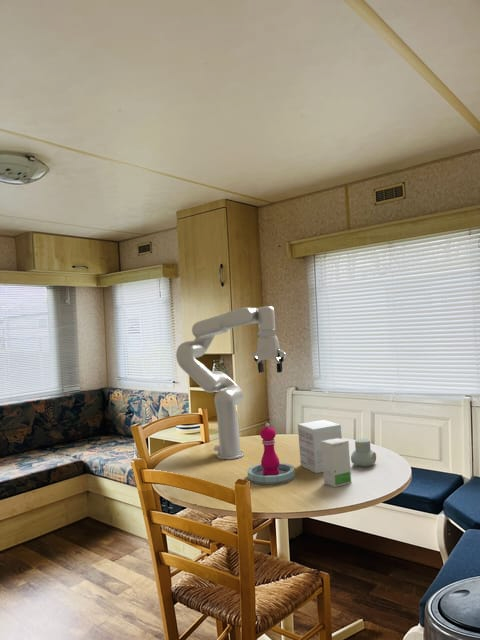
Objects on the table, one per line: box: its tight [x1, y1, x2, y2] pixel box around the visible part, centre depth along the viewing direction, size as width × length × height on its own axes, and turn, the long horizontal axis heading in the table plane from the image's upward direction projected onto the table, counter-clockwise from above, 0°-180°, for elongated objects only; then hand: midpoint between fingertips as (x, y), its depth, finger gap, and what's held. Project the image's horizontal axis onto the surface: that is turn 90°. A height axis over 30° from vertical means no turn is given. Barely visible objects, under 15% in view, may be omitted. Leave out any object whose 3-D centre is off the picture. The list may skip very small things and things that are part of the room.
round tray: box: [247, 462, 296, 486], centre depth 188 cm, size 18×18×3 cm
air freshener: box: [350, 438, 377, 468], centre depth 195 cm, size 11×8×10 cm
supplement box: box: [297, 419, 343, 474], centre depth 197 cm, size 13×13×18 cm
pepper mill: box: [259, 422, 281, 476], centre depth 188 cm, size 7×7×20 cm
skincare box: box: [321, 438, 352, 488], centre depth 176 cm, size 8×7×16 cm
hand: (270, 372), depth 215 cm, fingers open, 9 cm apart
